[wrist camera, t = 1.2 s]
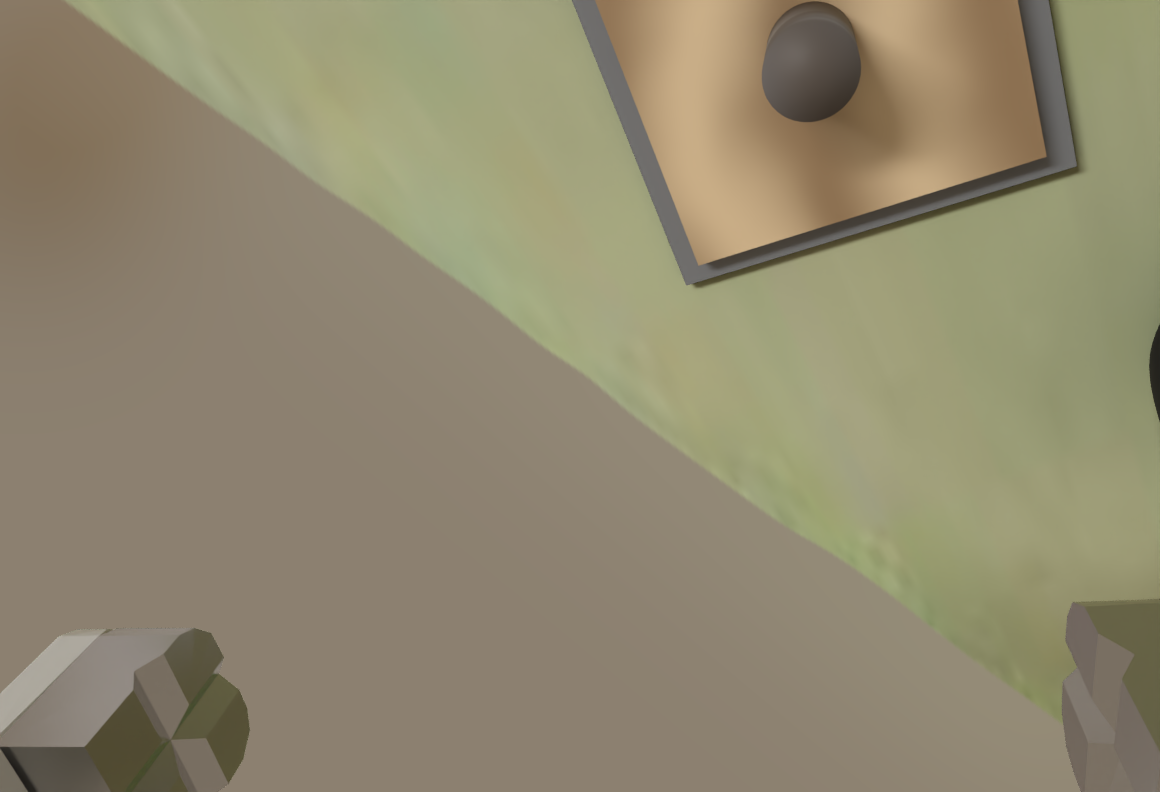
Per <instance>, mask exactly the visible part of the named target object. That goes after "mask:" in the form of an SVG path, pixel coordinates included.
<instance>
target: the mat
mask: <svg viewBox="0 0 1160 792" xmlns="http://www.w3.org/2000/svg"><path fill="white" fill-rule="evenodd" d="M572 2H573V4H574V7H575V9H576V12H577V14H578V17H579V19H580V22H581V24H582V27H583V29H584V32H585V34H586V37H587V39H588V42H589V44H590V47H591V49H592V52H593V54H594V57H595V59H596V62H597V64H598V67H599V69H600V71H601V74H602V76H603V79H604V81H605V84H606V86H607V89H608V91H609V94H610V96H611V99H612V101H613V104H614V106H615V109H616V111H617V114H618V116H619V119H620V121H621V124H622V126H623V129H624V131H625V134H626V136H627V139H628V141H629V144H630V146H631V149H632V151H633V154H634V156H635V159H636V161H637V164H638V166H639V169H640V171H641V174H642V176H643V179H644V181H645V184H646V186H647V189H648V191H649V194H650V196H651V199H652V201H653V204H654V206H655V209H656V211H657V214H658V216H659V219H660V221H661V223H662V226H663V228H664V231H665V233H666V236H667V238H668V241H669V243H670V246H671V248H672V251H673V253H674V256H675V258H676V261H677V263H678V266H679V268H680V271H681V273H682V276H683V278H684V281H685V283H686V285H690V284H693V283H696V282H699V281H703V280H706V279H709V278H712V277H716V276H719V275H722V274H726V273H729V272H732V271H735V270H739V269H742V268H745V267H748V266H752V265H755V264H758V263H762V262H765V261H768V260H771V259H775V258H778V257H781V256H785V255H788V254H791V253H794V252H798V251H801V250H804V249H807V248H811V247H814V246H817V245H821V244H824V243H827V242H830V241H834V240H837V239H840V238H844V237H847V236H850V235H853V234H857V233H860V232H863V231H866V230H870V229H873V228H876V227H880V226H883V225H886V224H889V223H893V222H896V221H899V220H902V219H906V218H909V217H912V216H916V215H919V214H922V213H925V212H929V211H932V210H935V209H939V208H942V207H945V206H948V205H952V204H955V203H958V202H961V201H965V200H968V199H971V198H975V197H978V196H981V195H984V194H988V193H991V192H994V191H997V190H1001V189H1004V188H1007V187H1011V186H1014V185H1017V184H1020V183H1024V182H1027V181H1030V180H1034V179H1037V178H1040V177H1043V176H1047V175H1050V174H1053V173H1056V172H1060V171H1063V170H1066V169H1070V168H1073V167H1076V166H1077V164H1076V158H1075V152H1074V146H1073V140H1072V134H1071V128H1070V123H1069V117H1068V111H1067V105H1066V99H1065V93H1064V87H1063V82H1062V76H1061V70H1060V64H1059V58H1058V52H1057V46H1056V41H1055V35H1054V29H1053V23H1052V17H1051V11H1050V5H1049V0H1018V5H1019V10H1020V16H1021V21H1022V26H1023V32H1024V37H1025V43H1026V48H1027V53H1028V59H1029V64H1030V70H1031V75H1032V80H1033V86H1034V91H1035V96H1036V102H1037V107H1038V113H1039V118H1040V123H1041V129H1042V134H1043V140H1044V145H1045V150H1046V156H1047V157H1044V158H1041V159H1038V160H1035V161H1031V162H1028V163H1025V164H1022V165H1019V166H1015V167H1012V168H1009V169H1006V170H1003V171H1000V172H996V173H993V174H990V175H987V176H984V177H980V178H977V179H974V180H971V181H968V182H964V183H961V184H958V185H955V186H952V187H948V188H945V189H942V190H939V191H936V192H932V193H929V194H926V195H923V196H920V197H916V198H913V199H910V200H907V201H904V202H900V203H897V204H894V205H891V206H888V207H884V208H881V209H878V210H875V211H872V212H868V213H865V214H862V215H859V216H856V217H852V218H849V219H846V220H843V221H840V222H836V223H833V224H830V225H827V226H824V227H820V228H817V229H814V230H811V231H808V232H805V233H801V234H798V235H795V236H792V237H789V238H785V239H782V240H779V241H776V242H773V243H769V244H766V245H763V246H760V247H757V248H753V249H750V250H747V251H744V252H741V253H737V254H734V255H731V256H728V257H725V258H721V259H718V260H715V261H712V262H709V263H705V264H702V265H699V266H698V263H697V260H696V258H695V255H694V253H693V250H692V248H691V245H690V243H689V240H688V237H687V235H686V232H685V230H684V227H683V225H682V222H681V219H680V217H679V214H678V212H677V209H676V207H675V204H674V202H673V199H672V196H671V194H670V191H669V189H668V186H667V184H666V181H665V178H664V176H663V173H662V171H661V168H660V166H659V163H658V161H657V158H656V155H655V153H654V150H653V148H652V145H651V143H650V140H649V137H648V135H647V132H646V130H645V127H644V125H643V122H642V119H641V117H640V114H639V112H638V109H637V107H636V104H635V102H634V99H633V96H632V94H631V91H630V89H629V86H628V84H627V81H626V78H625V76H624V73H623V71H622V68H621V66H620V63H619V61H618V58H617V55H616V53H615V50H614V48H613V45H612V43H611V40H610V37H609V35H608V32H607V30H606V27H605V25H604V22H603V20H602V17H601V14H600V12H599V9H598V7H597V4H596V2H595V0H572Z"/></svg>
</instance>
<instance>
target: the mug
mask: <svg viewBox="0 0 1160 792" xmlns="http://www.w3.org/2000/svg"><path fill="white" fill-rule="evenodd" d="M1149 368H1150V381H1151V388H1152V393H1153V398H1154V402H1155V407H1156V410H1157V414H1158V417H1159V420H1160V325H1159V327H1158V330H1157V332H1156V334H1155V337H1154V340H1153V343H1152V348H1151V353H1150V364H1149Z"/></svg>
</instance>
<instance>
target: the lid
mask: <svg viewBox="0 0 1160 792" xmlns="http://www.w3.org/2000/svg"><path fill="white" fill-rule="evenodd" d="M595 2H596V4H597V7H598V9H599V12H600V14H601V17H602V20H603V22H604V25H605V27H606V30H607V32H608V35H609V37H610V40H611V43H612V45H613V48H614V50H615V53H616V55H617V58H618V61H619V63H620V66H621V68H622V71H623V73H624V76H625V78H626V81H627V84H628V86H629V89H630V91H631V94H632V96H633V99H634V102H635V104H636V107H637V109H638V112H639V114H640V117H641V119H642V122H643V125H644V127H645V130H646V132H647V135H648V137H649V140H650V143H651V145H652V148H653V150H654V153H655V155H656V158H657V161H658V163H659V166H660V168H661V171H662V173H663V176H664V178H665V181H666V184H667V186H668V189H669V191H670V194H671V196H672V199H673V202H674V204H675V207H676V209H677V212H678V214H679V217H680V219H681V222H682V225H683V227H684V230H685V232H686V235H687V237H688V240H689V243H690V245H691V248H692V250H693V253H694V255H695V258H696V260H697V263H698V266H699V265H702V264H705V263H709V262H712V261H715V260H718V259H721V258H725V257H728V256H731V255H734V254H737V253H741V252H744V251H747V250H750V249H753V248H757V247H760V246H763V245H766V244H769V243H773V242H776V241H779V240H782V239H785V238H789V237H792V236H795V235H798V234H801V233H805V232H808V231H811V230H814V229H817V228H820V227H824V226H827V225H830V224H833V223H836V222H840V221H843V220H846V219H849V218H852V217H856V216H859V215H862V214H865V213H868V212H872V211H875V210H878V209H881V208H884V207H888V206H891V205H894V204H897V203H900V202H904V201H907V200H910V199H913V198H916V197H920V196H923V195H926V194H929V193H932V192H936V191H939V190H942V189H945V188H948V187H952V186H955V185H958V184H961V183H964V182H968V181H971V180H974V179H977V178H980V177H984V176H987V175H990V174H993V173H996V172H1000V171H1003V170H1006V169H1009V168H1012V167H1015V166H1019V165H1022V164H1025V163H1028V162H1031V161H1035V160H1038V159H1041V158H1044V157H1047V156H1046V150H1045V145H1044V140H1043V134H1042V129H1041V123H1040V118H1039V113H1038V107H1037V102H1036V96H1035V91H1034V86H1033V80H1032V75H1031V70H1030V64H1029V59H1028V53H1027V48H1026V43H1025V37H1024V32H1023V26H1022V21H1021V16H1020V10H1019V5H1018V0H595Z"/></svg>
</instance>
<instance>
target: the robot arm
mask: <svg viewBox="0 0 1160 792" xmlns="http://www.w3.org/2000/svg"><path fill="white" fill-rule="evenodd" d="M1066 643H1067V645H1068V647H1069V649H1070V652H1071V654H1072V656H1073V658H1074V661H1075V663H1076V665H1077V667H1078V668H1076V669H1075V670H1074V671H1073V672H1072V673H1071V674H1070V675H1069V676H1068V677H1067V678H1066V679H1065V680H1064V681H1063V692H1062V717H1063V725H1064V732H1065V740H1066V747H1067V750H1068V754H1069V758H1070V761H1071V765H1072V768H1073V772H1074V775H1075V777H1076V780H1077V783H1078V785H1079V788H1080V791H1081V792H1160V599H1148V600H1119V601H1091V602H1073V603H1072V605H1071V608H1070V611H1069V613H1068V616H1067V628H1066ZM223 659H224V657H223V655H222V653H221V651H220V649H219V647H218V645H217V643H216V641H215V640H214V638H213V636H212V634H211V633H209V632H206V631H202V630H199V629H196V628H117V629H115V630H110V629H81V630H80V629H79V630H75V631H73V632H70V633H67V634H64V635H62V636H59V637H58V638H57V639H56V640H55V641H54V642H53V643H52V644H51V645H50V646H49V647H48V648H47V649H46V650H45V651H43V652H42V653H41V654H40V655H39V656H38V657H37V659H35V660H34V661H33V662H32V663H31V664H30V665H29V666H28V667H27V668H26V669H25V670H24V671H23V672H22V673H21V674H20V675H19V676H18V677H17V678H16V679H15V680H14V681H13V682H12V683H11V684H10V685H9V686H8V687H7V688H6V689H4V690H3V692H2V693H0V792H218V791H219V790H221V789H222V788H224V787H225V786H226V785H227V784H229V782H230V780H231V779H232V777H233V775H234V773H235V772H236V770H237V769H238V767H239V765H240V764H241V762H242V760H243V758H244V753H245V749H246V744H247V740H248V736H249V731H250V728H249V720H248V712H247V707H246V704H245V702H244V700H243V698H242V695H241V693H240V691H239V690H238V689H237V688H236V687H235V686H233V685H232V684H231V683H230V682H228V681H227V680H226V679H225V678H223V677H222V676H221V675H220V674H219V672H220V669H221V665H222V662H223Z"/></svg>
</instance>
